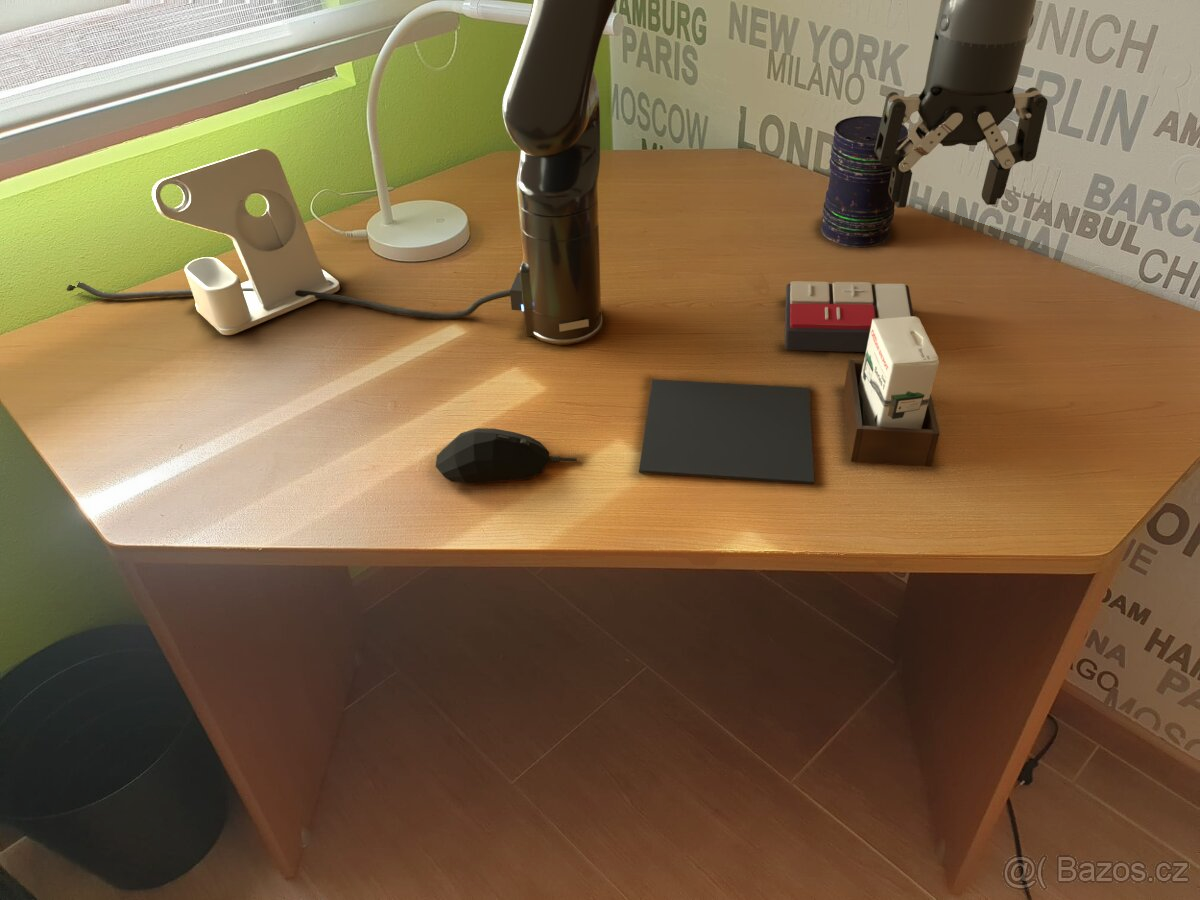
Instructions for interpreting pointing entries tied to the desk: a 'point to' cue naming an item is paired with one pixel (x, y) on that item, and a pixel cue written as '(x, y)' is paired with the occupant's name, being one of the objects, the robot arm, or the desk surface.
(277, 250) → the phone holder
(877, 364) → the ink box
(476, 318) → the desk surface
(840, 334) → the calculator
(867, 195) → the navy blue cylinder
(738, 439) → the mat
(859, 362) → the box
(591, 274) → the robot arm
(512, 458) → the gaming mouse
